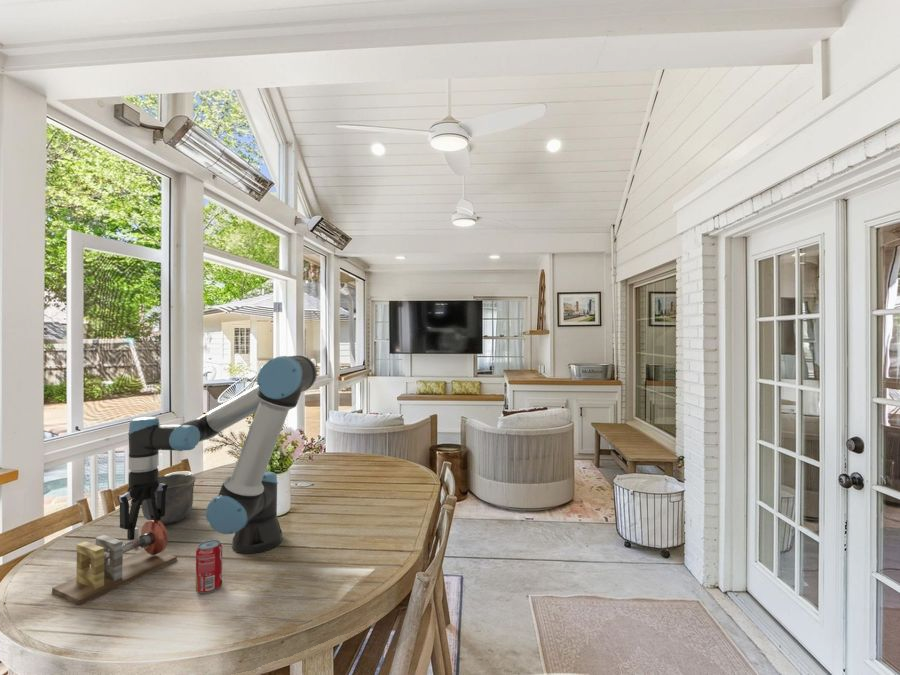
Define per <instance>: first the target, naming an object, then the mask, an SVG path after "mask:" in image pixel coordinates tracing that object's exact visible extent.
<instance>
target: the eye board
mask: <svg viewBox="0 0 900 675" xmlns="http://www.w3.org/2000/svg"><path fill="white" fill-rule="evenodd" d="M123 545H124V543H123V540H120V539H117V538H115V537H112V536H108V535H105V534H103V535H100V536H97V537H95V543H91V542H89V541H82V542H79V543H77V544H76V577H75V578H72V579H70V580H68V581H65V582H64V583H62V584H58V585H56V586H53V587H52V588H51V591H52V592H51V593H52V594H54V595H57V596H59V597H62V598H63V599H66V600H67V601H70V602H73V603H75V604H76V605H78V606H81V605H83V604H84V603H88V602H89V601H91V600H94V599H96V598H98V597H100V596H103V595H105V594H107V593H109V592H111V591H113V590H116V589H118V588H119V587H123V586H124V585H127V584H128V583H132V582H133V581H135V580H138V579H140V578H142V577H145V576H146V575H148V574H150V573H153V572H155V571H157V570H160V569H162V568H164V567H167V566H168V565H170V564H173V563H175V562H176V561H177V560H178V559H177V558H178V557H177V556H175V555H172V554H169V553H166V552H164V551H163V552H161V553H158V554H156V555H150V554H149V553H147V552H146V550H145V549H143V550H142V551H140V552H137V553H135V554H132V555H129V556H128V557H125V558H123V554H124V553H123ZM108 550H110V559H107V560H105V561H104V552H106V551H108ZM90 557H91V565H90V562H89V559H90Z"/></svg>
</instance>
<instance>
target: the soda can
mask: <svg viewBox="0 0 900 675" xmlns="http://www.w3.org/2000/svg"><path fill="white" fill-rule="evenodd" d="M222 584H223V544H222V543H221V540H218V539H211V540H205V541H202V542H201V543H199V544H198V545H197V549H196V550H195V591H196V592H198V593H199V594H203V595H204V594H205V595H206V594H211V593H213V592H216V591H217V590H218V589H219V588H220V587H221V586H222Z"/></svg>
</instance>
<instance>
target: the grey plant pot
mask: <svg viewBox="0 0 900 675" xmlns="http://www.w3.org/2000/svg"><path fill="white" fill-rule="evenodd" d="M195 482H196V476H194V475H193V474H192V475H184V474H173V475H170V476H165V475H160V476H158V483H159V484H161V483H163V484H167V485H168V487H167V490H166V500H165V516H163V517H161V520H160V521H161V522H162V523H163V524H172V523H176V522H179V521H181V520H182V519H184V518H186V517H187V516H188V515H189V514H190V512H191V510H192V507H193V503H194V502H193V501H194V495H193V494H194V486H195ZM154 494H155V498H156V499H155V502H156V506H157V490H156V491H155V493H154ZM140 508H141V511H142V512H141V513H142V514H143V517H144V518H145V519H146V520H147V521H150V520H152V519H151V518H150V514H149V510H148V506H147V502H146V500H143V502H142V505H141V506H140Z"/></svg>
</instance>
